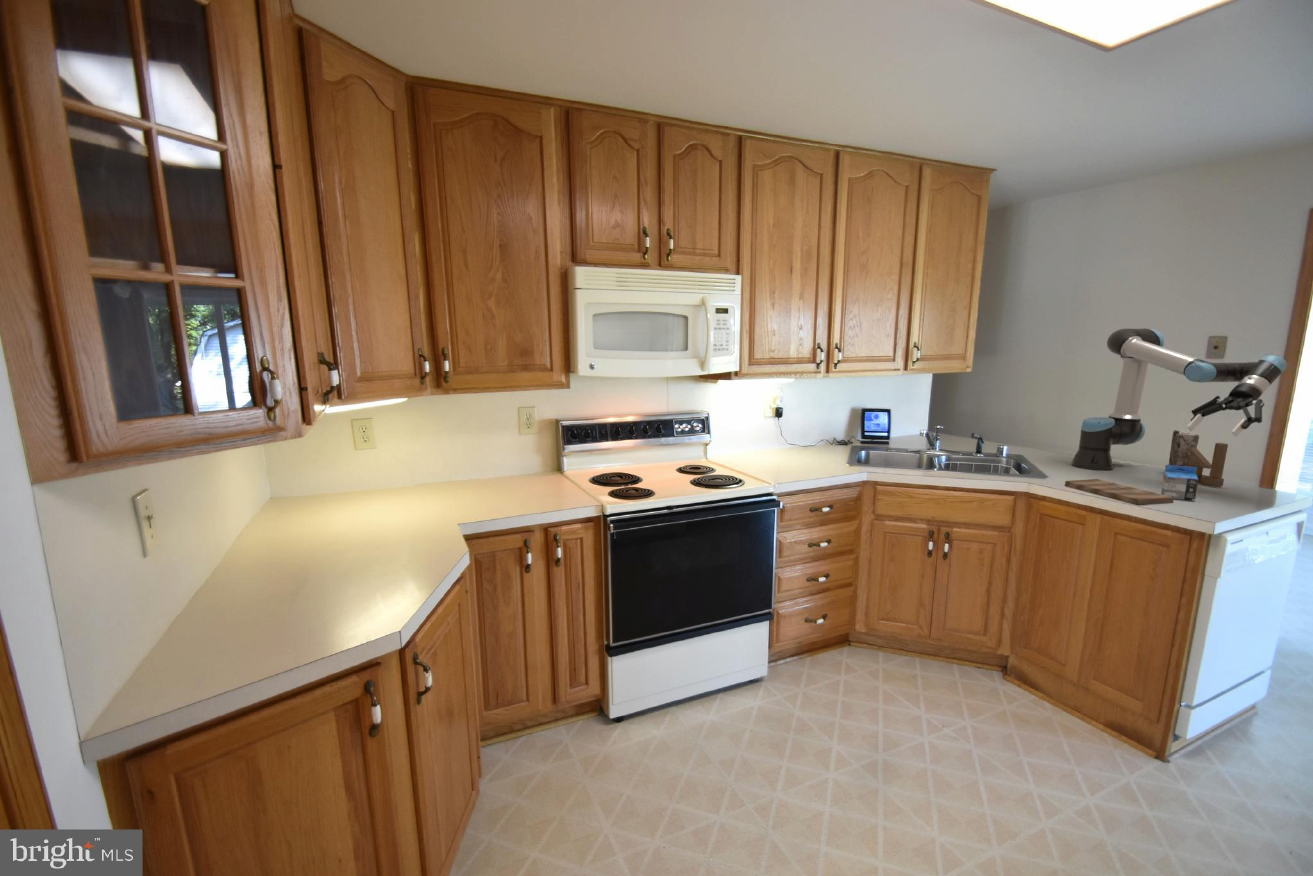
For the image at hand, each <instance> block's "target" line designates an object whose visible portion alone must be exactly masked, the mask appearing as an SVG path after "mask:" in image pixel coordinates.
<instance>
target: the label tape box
mask: <svg viewBox="0 0 1313 876" xmlns="http://www.w3.org/2000/svg"><path fill="white" fill-rule="evenodd" d="M1180 468H1182V469H1185V470H1186V471H1180V470H1175V469H1180ZM1196 469H1197V467H1187V466H1175V465H1169V464H1165V469H1164V472H1163V479H1162V484H1161V491H1160V492H1161V493H1160V494H1162V495H1166V496H1170V497H1174V500H1185V501H1193V502H1194V501H1196V496H1197V490H1198V487H1199V483H1198V477H1197V475H1196Z"/></svg>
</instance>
